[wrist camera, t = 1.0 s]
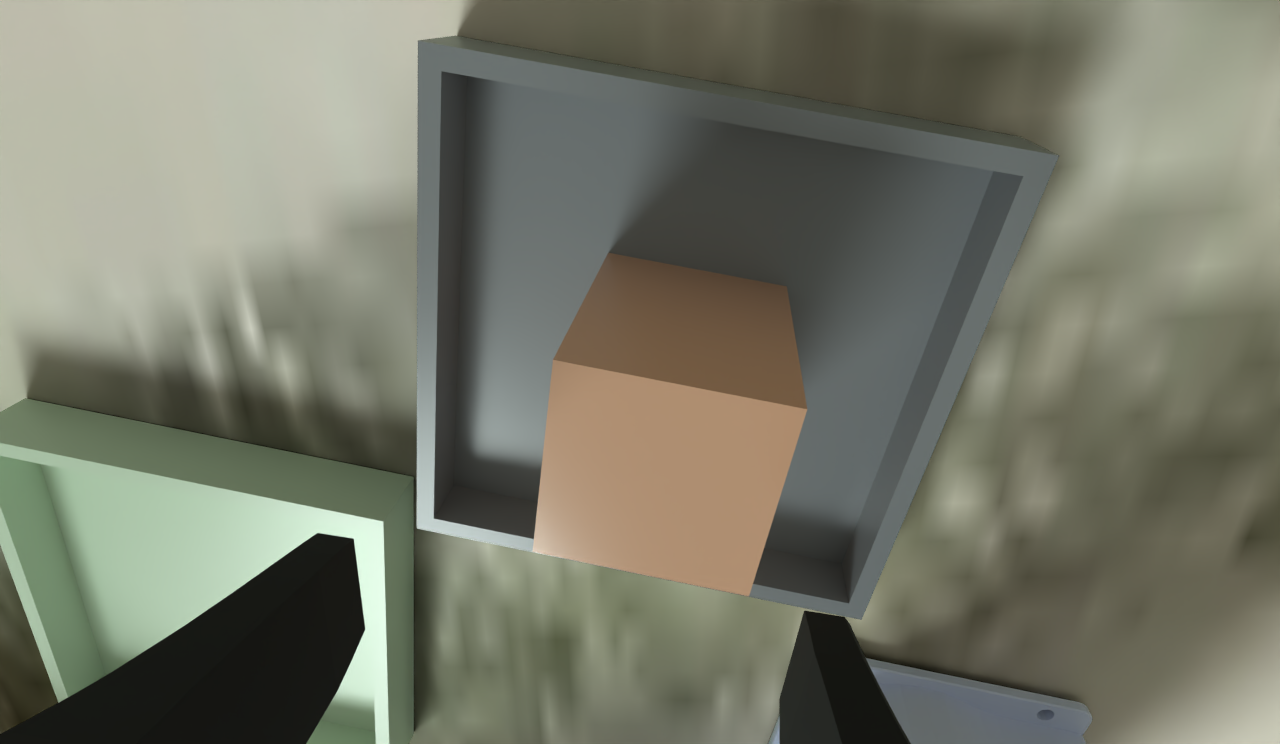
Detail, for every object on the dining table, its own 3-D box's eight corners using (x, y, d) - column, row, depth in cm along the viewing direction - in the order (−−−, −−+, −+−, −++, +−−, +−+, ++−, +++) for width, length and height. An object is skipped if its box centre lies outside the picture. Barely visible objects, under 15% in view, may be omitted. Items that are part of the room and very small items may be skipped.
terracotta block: (787, 286, 18) (807, 409, 12) (746, 436, 20) (749, 596, 14) (608, 252, 18) (552, 360, 12) (587, 405, 20) (532, 551, 15)
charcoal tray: (1020, 136, 16) (1059, 155, 14) (850, 565, 22) (861, 619, 20) (455, 36, 16) (418, 40, 14) (444, 483, 23) (416, 528, 21)
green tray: (413, 477, 23) (383, 521, 21) (413, 732, 29) (390, 786, 27) (25, 398, 23) (-40, 434, 21) (107, 666, 29) (62, 714, 27)
